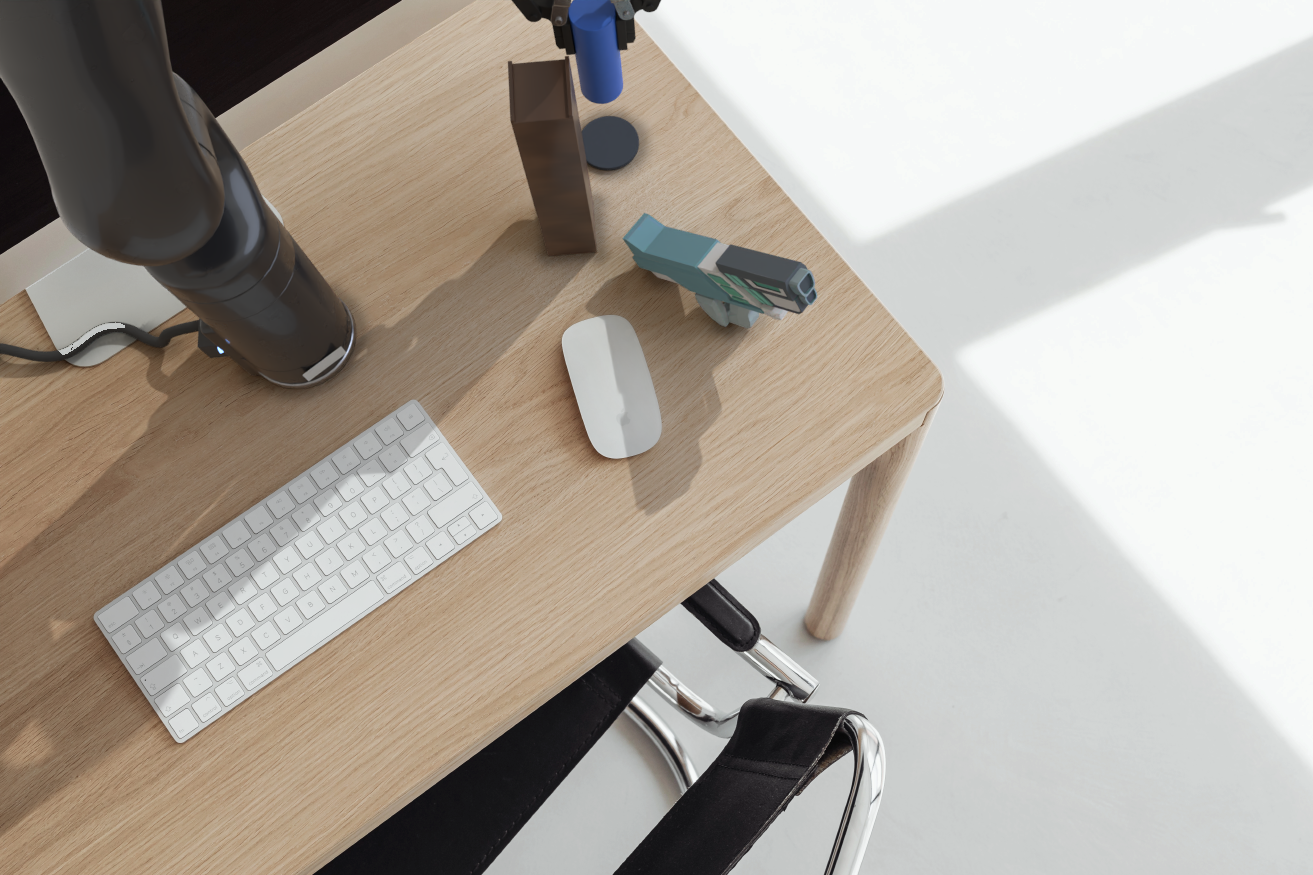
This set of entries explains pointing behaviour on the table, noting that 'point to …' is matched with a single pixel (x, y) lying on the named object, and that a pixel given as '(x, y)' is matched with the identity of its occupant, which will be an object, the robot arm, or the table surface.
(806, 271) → the toy gun
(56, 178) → the robot arm
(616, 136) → the mat
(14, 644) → the table surface
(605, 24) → the tube
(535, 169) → the brown tall block
